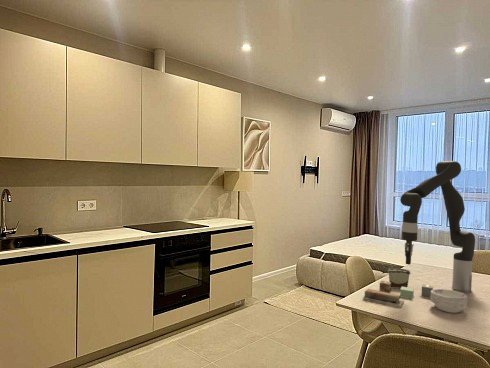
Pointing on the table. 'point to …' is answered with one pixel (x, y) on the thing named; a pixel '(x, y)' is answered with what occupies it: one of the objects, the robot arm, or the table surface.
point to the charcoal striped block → (426, 290)
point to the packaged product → (383, 298)
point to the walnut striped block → (385, 286)
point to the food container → (398, 277)
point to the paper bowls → (448, 300)
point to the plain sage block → (407, 292)
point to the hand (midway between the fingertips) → (408, 263)
